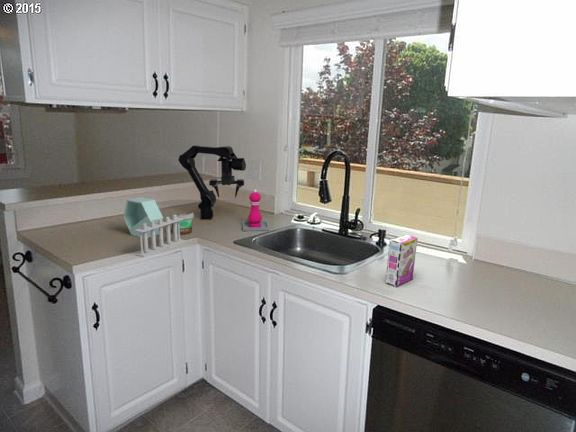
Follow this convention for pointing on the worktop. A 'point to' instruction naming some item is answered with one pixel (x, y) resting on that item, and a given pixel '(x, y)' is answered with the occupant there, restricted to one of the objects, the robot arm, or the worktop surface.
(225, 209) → the worktop surface
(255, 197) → the pink bowling pin
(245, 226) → the slate tray
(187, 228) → the food container
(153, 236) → the test tube rack
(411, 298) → the worktop surface
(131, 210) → the planter
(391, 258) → the candy bar box
